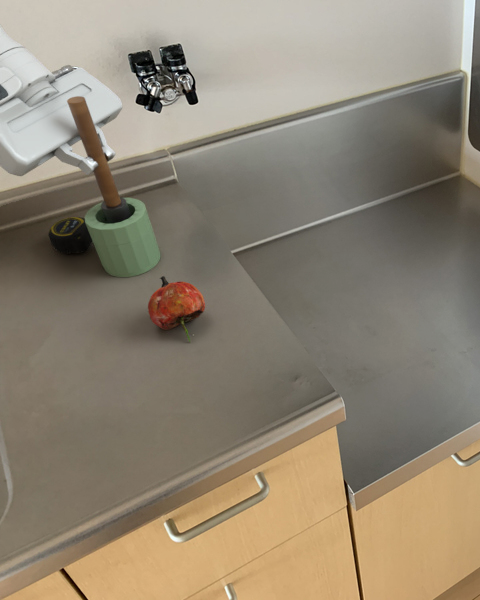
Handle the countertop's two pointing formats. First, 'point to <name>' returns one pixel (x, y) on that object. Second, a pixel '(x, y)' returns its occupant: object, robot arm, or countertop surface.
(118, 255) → the green tube segment
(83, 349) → the countertop surface
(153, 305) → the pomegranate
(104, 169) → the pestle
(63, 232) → the tape measure
